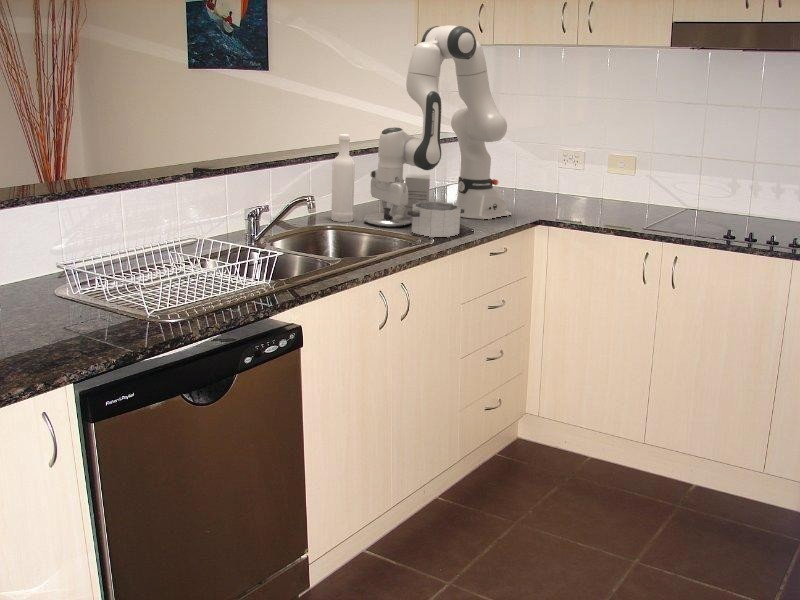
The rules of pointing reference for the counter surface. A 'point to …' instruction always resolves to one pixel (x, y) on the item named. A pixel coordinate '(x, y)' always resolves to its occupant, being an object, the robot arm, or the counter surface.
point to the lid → (388, 219)
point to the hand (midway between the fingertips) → (388, 214)
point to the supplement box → (416, 190)
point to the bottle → (343, 183)
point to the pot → (435, 219)
